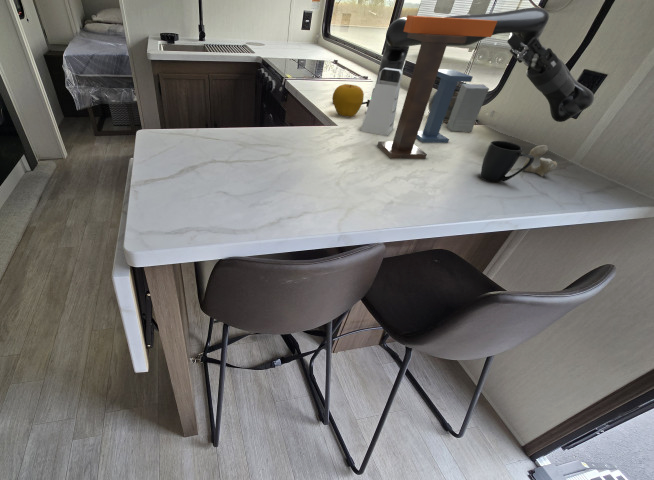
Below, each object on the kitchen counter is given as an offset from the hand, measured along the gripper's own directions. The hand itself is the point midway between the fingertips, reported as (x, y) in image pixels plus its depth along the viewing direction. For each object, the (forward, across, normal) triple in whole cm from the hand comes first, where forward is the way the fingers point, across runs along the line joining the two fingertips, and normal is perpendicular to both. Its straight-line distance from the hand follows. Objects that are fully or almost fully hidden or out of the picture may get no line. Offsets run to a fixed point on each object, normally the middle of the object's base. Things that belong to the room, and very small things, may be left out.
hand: (520, 39), depth 98 cm
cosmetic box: (-25, -26, +22) cm, 42 cm away
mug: (-11, +23, +31) cm, 40 cm away
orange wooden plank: (+20, 0, +11) cm, 23 cm away
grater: (+6, -24, +40) cm, 47 cm away
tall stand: (+7, 0, +40) cm, 41 cm away
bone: (-26, +18, +22) cm, 38 cm away
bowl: (-26, -41, +22) cm, 53 cm away
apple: (+12, -44, +44) cm, 63 cm away
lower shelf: (-9, -15, +32) cm, 36 cm away
